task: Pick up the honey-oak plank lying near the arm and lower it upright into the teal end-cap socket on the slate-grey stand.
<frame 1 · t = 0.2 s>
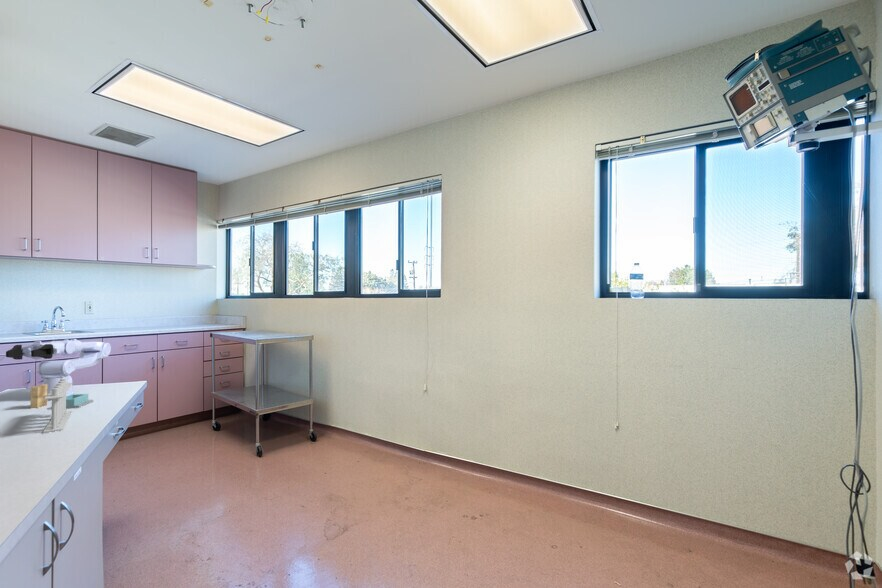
hand: (19, 353, 149), 21 cm above the counter, tool horizontal, fingers open, 7 cm apart
test tube rack: (58, 423, 137), on the counter
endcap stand: (72, 405, 158), on the counter
plank: (38, 406, 155), on the counter
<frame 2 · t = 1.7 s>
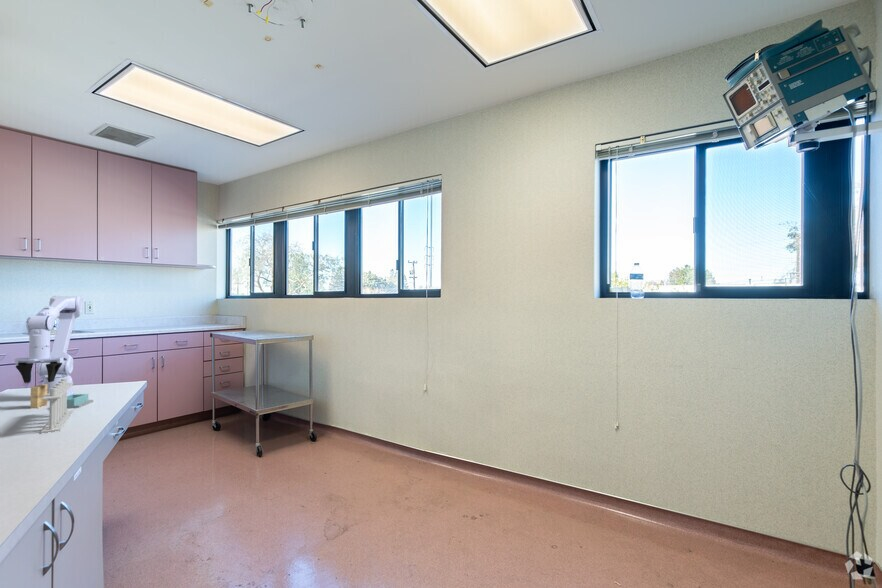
hand: (39, 382, 155), 9 cm above the counter, tool pointing down, fingers open, 7 cm apart
nothing on the counter moved.
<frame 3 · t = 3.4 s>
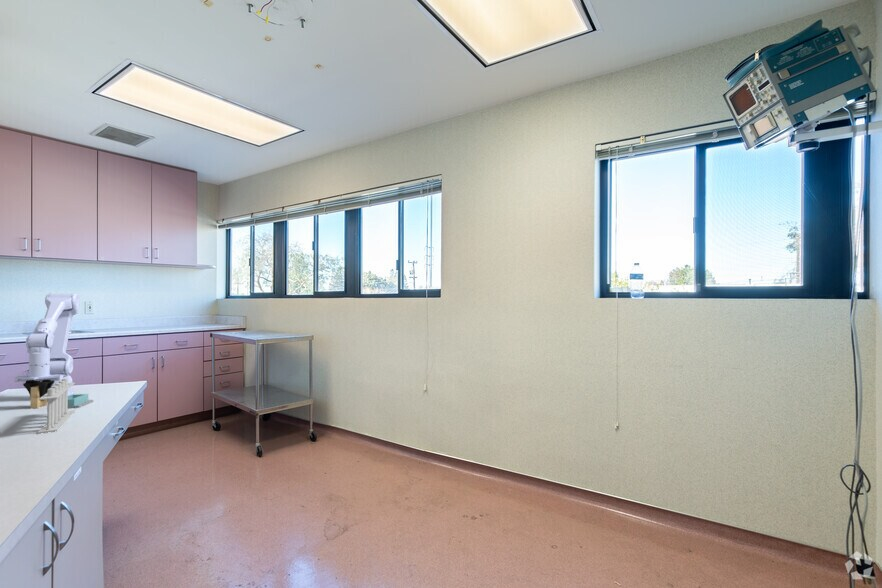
hand: (39, 399, 155), 3 cm above the counter, tool pointing down, fingers closed on plank, 2 cm apart
plank: (38, 406, 155), on the counter, touching gripper
everything else where it was.
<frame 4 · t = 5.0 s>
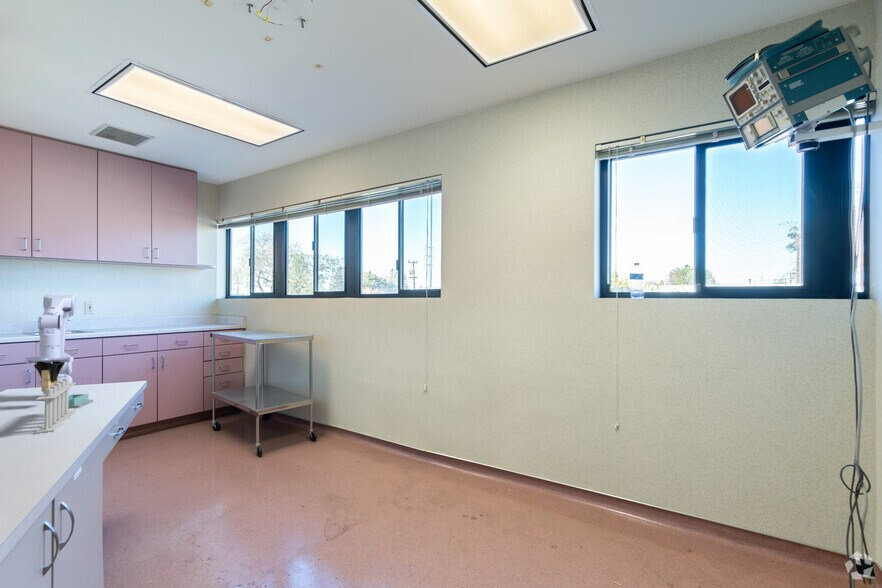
hand: (49, 381, 156), 10 cm above the counter, tool pointing down, fingers closed on plank, 2 cm apart
plank: (49, 390, 156), point 6 cm above the counter, touching gripper
everything else where it was.
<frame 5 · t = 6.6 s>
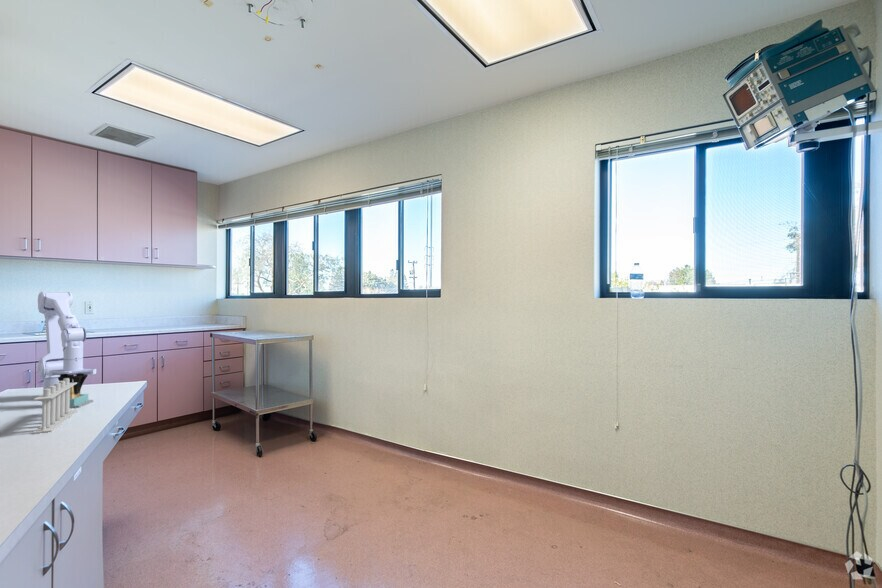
hand: (72, 393, 158), 5 cm above the counter, tool pointing down, fingers closed on plank, 2 cm apart
plank: (72, 403, 158), point 1 cm above the counter, touching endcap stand, gripper
when the fingers open (4 cm above the counter, at t = 7.4 s): plank stays where it is, resting on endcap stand.
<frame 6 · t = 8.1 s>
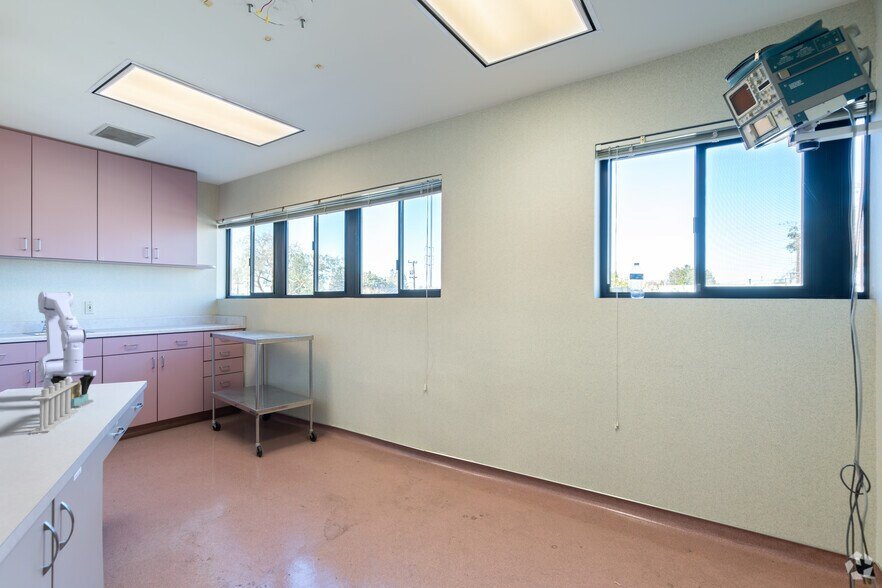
hand: (72, 394, 158), 4 cm above the counter, tool pointing down, fingers open, 7 cm apart
plank: (72, 403, 158), point 1 cm above the counter, touching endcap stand
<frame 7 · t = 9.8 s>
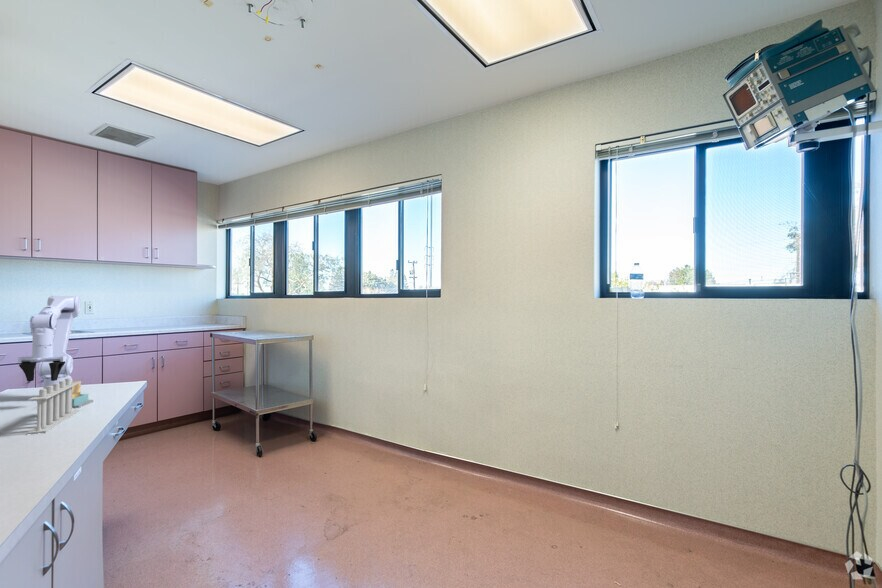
hand: (42, 380, 155), 10 cm above the counter, tool pointing down, fingers open, 7 cm apart
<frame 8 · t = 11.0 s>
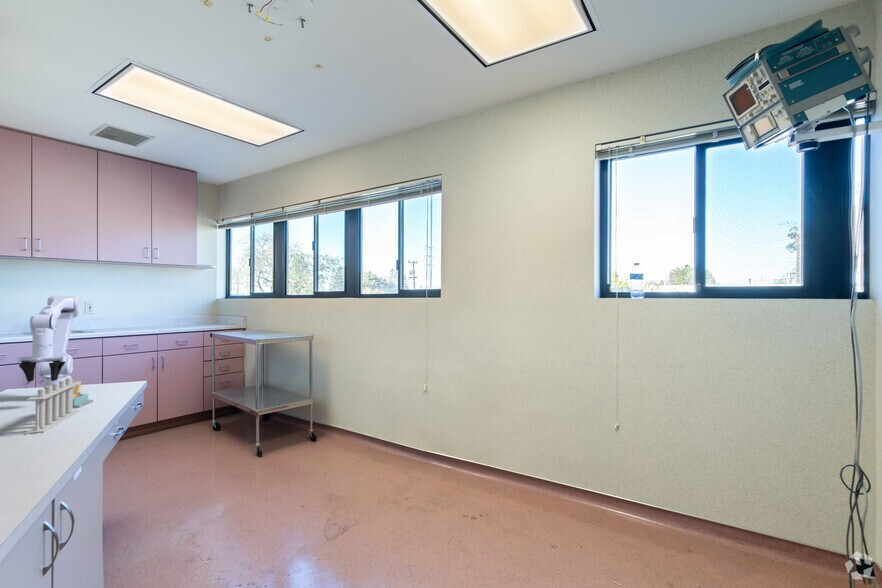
hand: (42, 380, 155), 10 cm above the counter, tool pointing down, fingers open, 7 cm apart
at the end: plank 0.1 cm off-centre on the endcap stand, point 0.8 cm above the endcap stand's base; plank tilted 0°; the gripper is holding nothing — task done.
